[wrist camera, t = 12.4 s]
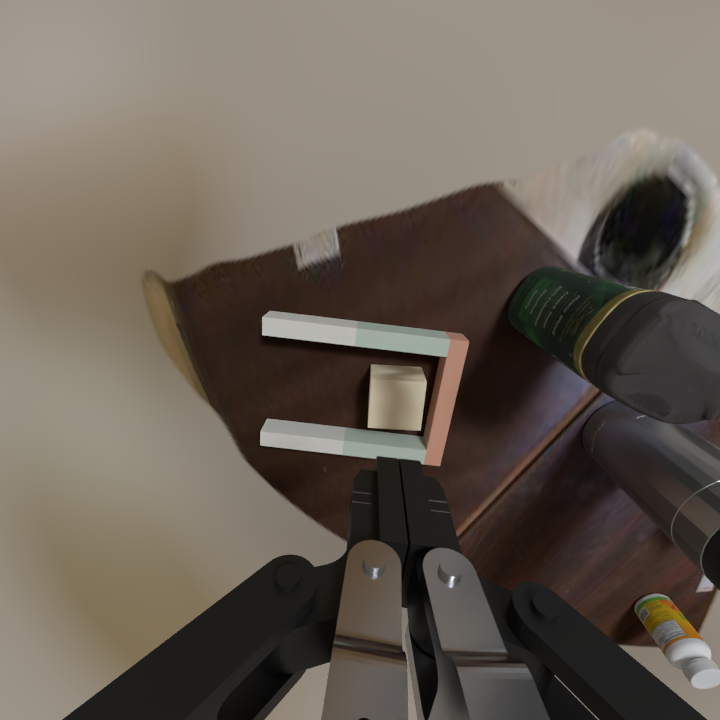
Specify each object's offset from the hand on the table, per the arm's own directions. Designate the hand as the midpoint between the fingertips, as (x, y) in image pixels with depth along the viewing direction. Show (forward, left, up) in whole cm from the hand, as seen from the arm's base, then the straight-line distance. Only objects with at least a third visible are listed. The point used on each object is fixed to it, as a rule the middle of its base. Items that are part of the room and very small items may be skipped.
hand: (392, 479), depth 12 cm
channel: (+1, +10, -29) cm, 31 cm away
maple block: (-3, +10, -29) cm, 31 cm away
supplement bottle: (-48, +41, -29) cm, 70 cm away
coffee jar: (-19, -2, -29) cm, 35 cm away
